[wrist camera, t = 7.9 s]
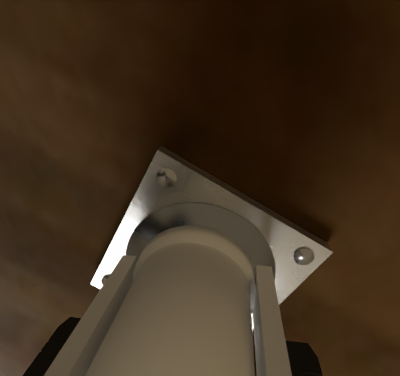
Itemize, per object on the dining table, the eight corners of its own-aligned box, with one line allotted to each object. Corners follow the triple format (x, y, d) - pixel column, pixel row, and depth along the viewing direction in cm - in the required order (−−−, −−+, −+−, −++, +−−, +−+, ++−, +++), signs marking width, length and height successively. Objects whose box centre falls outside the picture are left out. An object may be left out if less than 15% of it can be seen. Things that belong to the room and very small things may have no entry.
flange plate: (96, 275, 16) (89, 285, 16) (162, 145, 13) (157, 150, 12) (227, 343, 17) (226, 356, 16) (327, 242, 13) (333, 253, 13)
